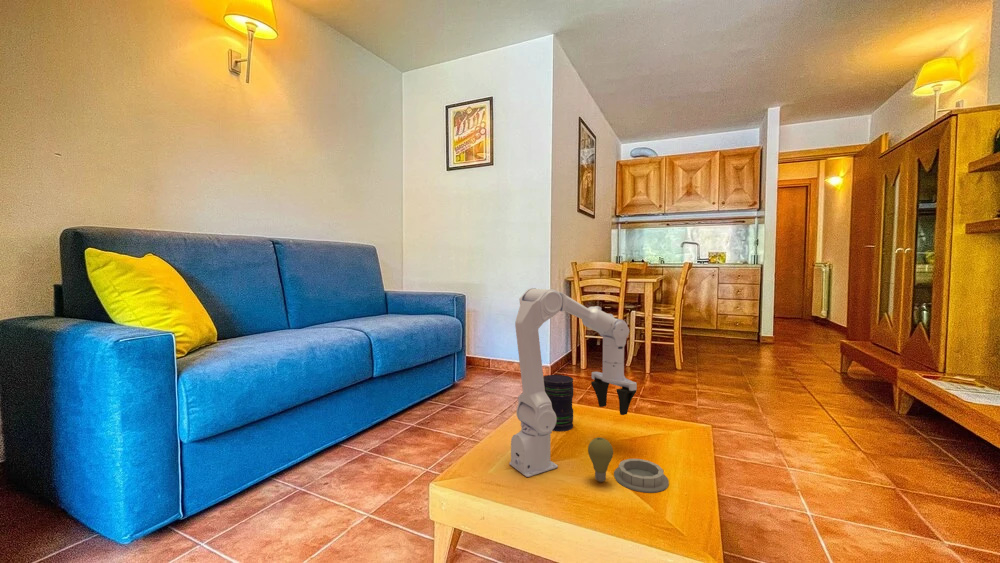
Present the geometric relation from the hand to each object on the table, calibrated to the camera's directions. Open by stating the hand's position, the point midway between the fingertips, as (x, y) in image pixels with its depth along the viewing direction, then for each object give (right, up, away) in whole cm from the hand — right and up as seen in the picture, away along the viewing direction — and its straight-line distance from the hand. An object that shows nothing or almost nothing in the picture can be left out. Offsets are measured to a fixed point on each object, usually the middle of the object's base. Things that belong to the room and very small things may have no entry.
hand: (612, 410), depth 111 cm
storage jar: (-13, -10, +15) cm, 23 cm away
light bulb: (-8, -11, -19) cm, 23 cm away
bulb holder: (+2, -10, -18) cm, 21 cm away
